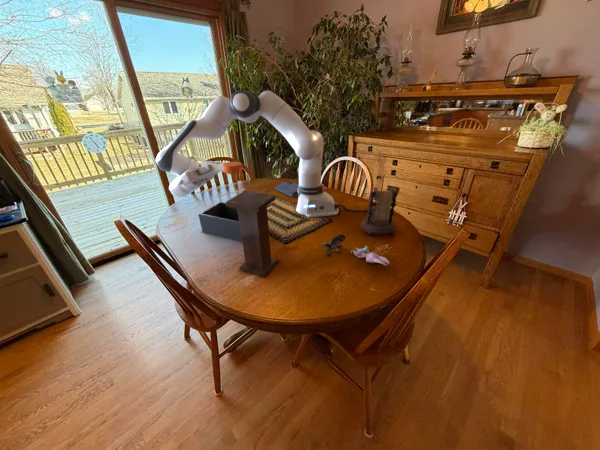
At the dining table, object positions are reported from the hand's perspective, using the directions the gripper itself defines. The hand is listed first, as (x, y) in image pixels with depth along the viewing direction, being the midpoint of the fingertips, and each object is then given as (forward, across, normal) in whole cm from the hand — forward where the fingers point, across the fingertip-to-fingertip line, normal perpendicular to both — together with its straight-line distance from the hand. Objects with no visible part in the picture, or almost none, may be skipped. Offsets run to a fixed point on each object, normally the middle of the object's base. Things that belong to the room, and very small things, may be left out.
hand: (213, 164), depth 96 cm
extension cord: (+3, 0, +4) cm, 5 cm away
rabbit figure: (+43, -1, +58) cm, 72 cm away
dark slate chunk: (-7, +56, +30) cm, 64 cm away
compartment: (-11, 0, +28) cm, 30 cm away
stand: (+11, -19, +40) cm, 46 cm away
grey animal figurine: (+31, +1, +51) cm, 60 cm away
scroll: (+43, +24, +58) cm, 76 cm away
